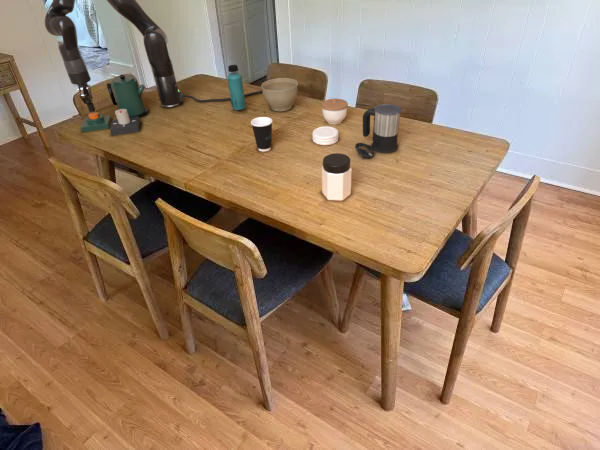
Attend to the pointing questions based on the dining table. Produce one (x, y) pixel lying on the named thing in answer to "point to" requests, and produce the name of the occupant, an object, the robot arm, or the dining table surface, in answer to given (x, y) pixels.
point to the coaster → (325, 135)
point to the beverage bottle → (236, 88)
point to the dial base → (125, 126)
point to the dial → (122, 116)
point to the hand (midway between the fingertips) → (92, 111)
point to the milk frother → (381, 129)
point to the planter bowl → (280, 93)
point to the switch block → (96, 123)
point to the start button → (93, 115)
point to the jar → (336, 176)
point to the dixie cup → (262, 132)
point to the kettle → (128, 95)
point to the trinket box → (334, 110)
